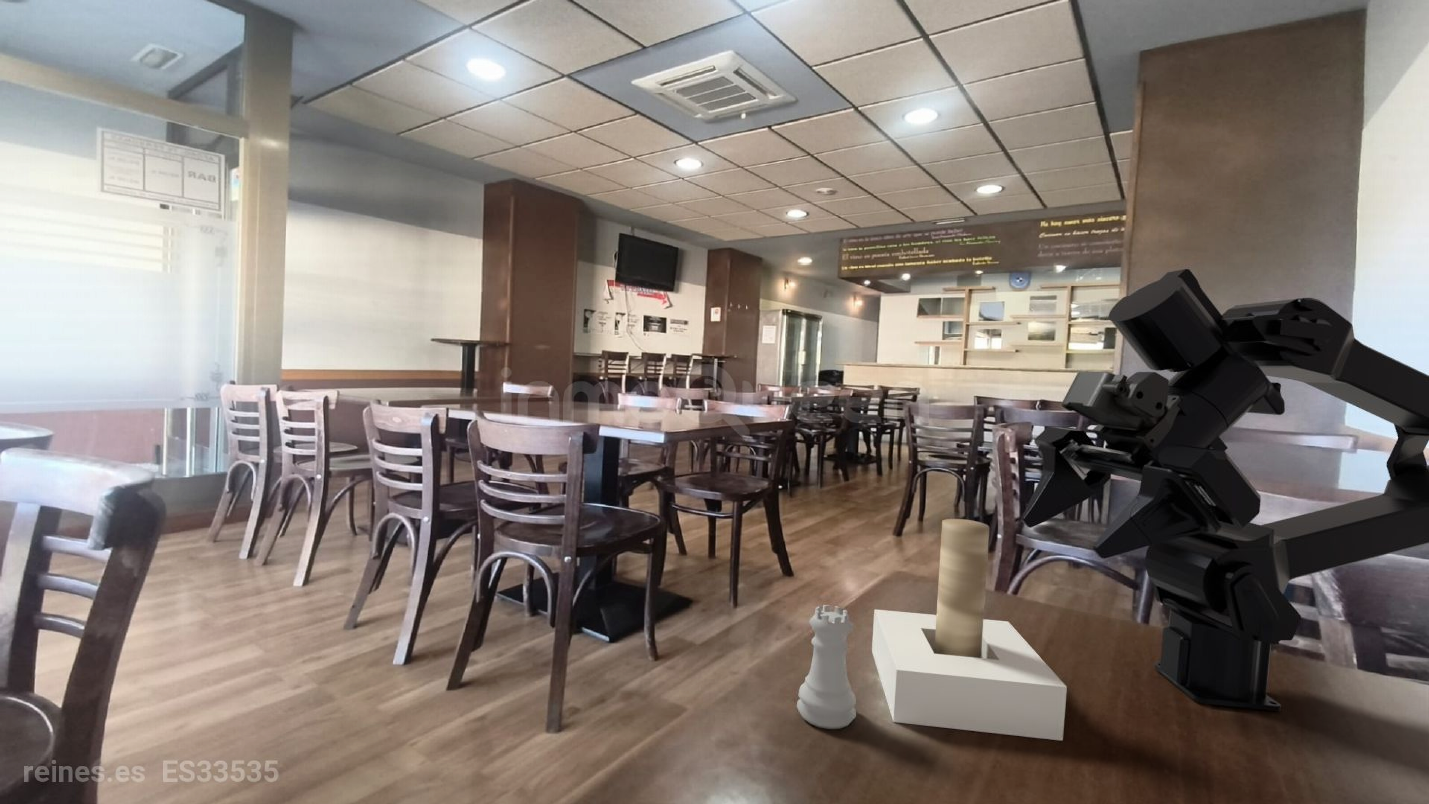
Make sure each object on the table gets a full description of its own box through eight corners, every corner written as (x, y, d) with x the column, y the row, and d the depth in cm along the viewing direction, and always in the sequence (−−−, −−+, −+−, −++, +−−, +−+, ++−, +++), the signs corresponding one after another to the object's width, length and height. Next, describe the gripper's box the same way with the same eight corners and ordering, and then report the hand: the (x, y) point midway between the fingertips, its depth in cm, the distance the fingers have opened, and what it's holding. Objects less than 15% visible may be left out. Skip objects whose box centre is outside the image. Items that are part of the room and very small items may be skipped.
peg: (959, 665, 54) (968, 518, 53) (989, 686, 50) (999, 529, 50) (924, 670, 53) (933, 519, 52) (952, 691, 49) (962, 530, 49)
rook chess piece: (861, 733, 45) (868, 625, 44) (799, 730, 45) (805, 621, 44) (849, 700, 49) (855, 602, 49) (793, 697, 49) (798, 598, 49)
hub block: (1005, 664, 57) (1008, 621, 57) (1062, 740, 45) (1066, 687, 45) (871, 651, 58) (874, 609, 58) (893, 721, 46) (896, 669, 46)
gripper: (1060, 344, 61) (945, 452, 60) (1239, 334, 42) (1075, 489, 42) (1128, 427, 62) (1015, 534, 61) (1331, 453, 43) (1172, 606, 43)
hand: (1058, 537), depth 52 cm, fingers open, 9 cm apart
